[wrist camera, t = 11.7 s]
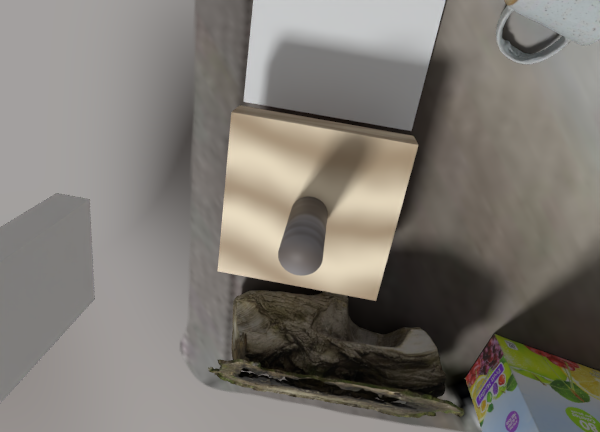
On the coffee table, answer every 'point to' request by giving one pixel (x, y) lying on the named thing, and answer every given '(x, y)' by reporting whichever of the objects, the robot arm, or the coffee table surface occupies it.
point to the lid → (312, 201)
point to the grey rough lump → (332, 356)
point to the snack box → (532, 390)
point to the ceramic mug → (552, 25)
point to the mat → (342, 57)
